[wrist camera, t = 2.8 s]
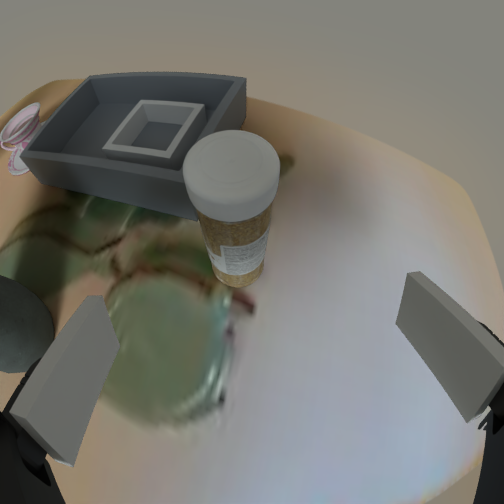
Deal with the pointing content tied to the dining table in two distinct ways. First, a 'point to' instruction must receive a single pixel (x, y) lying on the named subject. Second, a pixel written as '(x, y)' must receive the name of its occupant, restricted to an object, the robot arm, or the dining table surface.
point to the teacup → (20, 136)
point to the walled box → (134, 135)
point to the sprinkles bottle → (233, 200)
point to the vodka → (22, 327)
